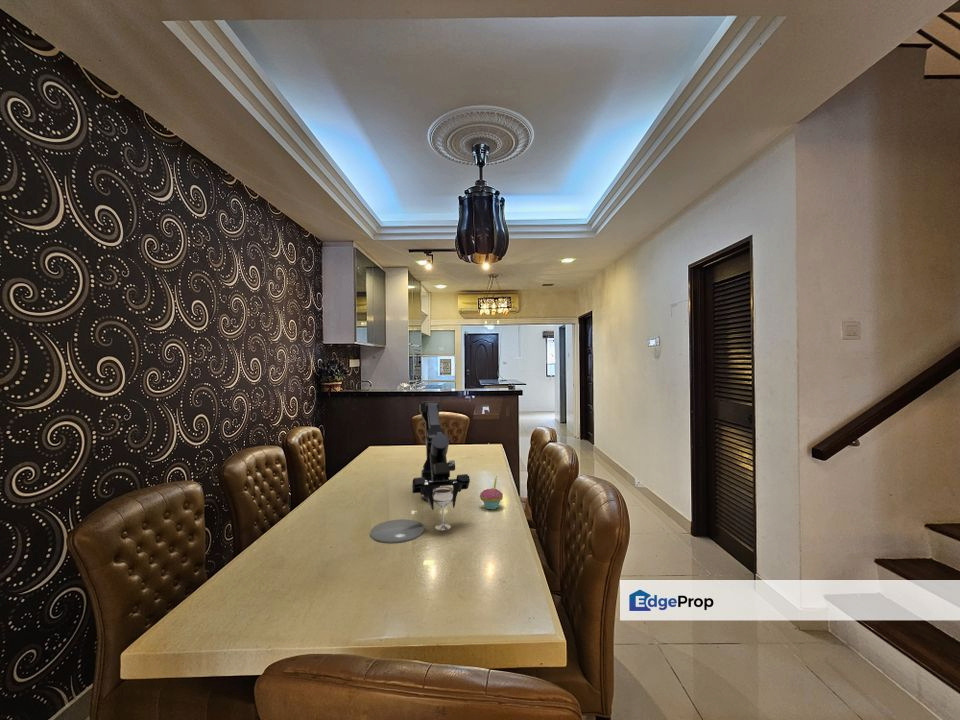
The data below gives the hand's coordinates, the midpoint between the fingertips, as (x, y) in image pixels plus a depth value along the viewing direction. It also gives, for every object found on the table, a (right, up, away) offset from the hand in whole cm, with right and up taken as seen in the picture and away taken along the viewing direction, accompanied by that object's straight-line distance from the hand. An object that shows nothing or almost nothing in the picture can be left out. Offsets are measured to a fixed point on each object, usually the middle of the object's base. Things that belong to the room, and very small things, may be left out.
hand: (443, 507), depth 133 cm
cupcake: (+16, -8, +23) cm, 29 cm away
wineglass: (0, -7, +1) cm, 7 cm away
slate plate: (-15, -8, +2) cm, 17 cm away
